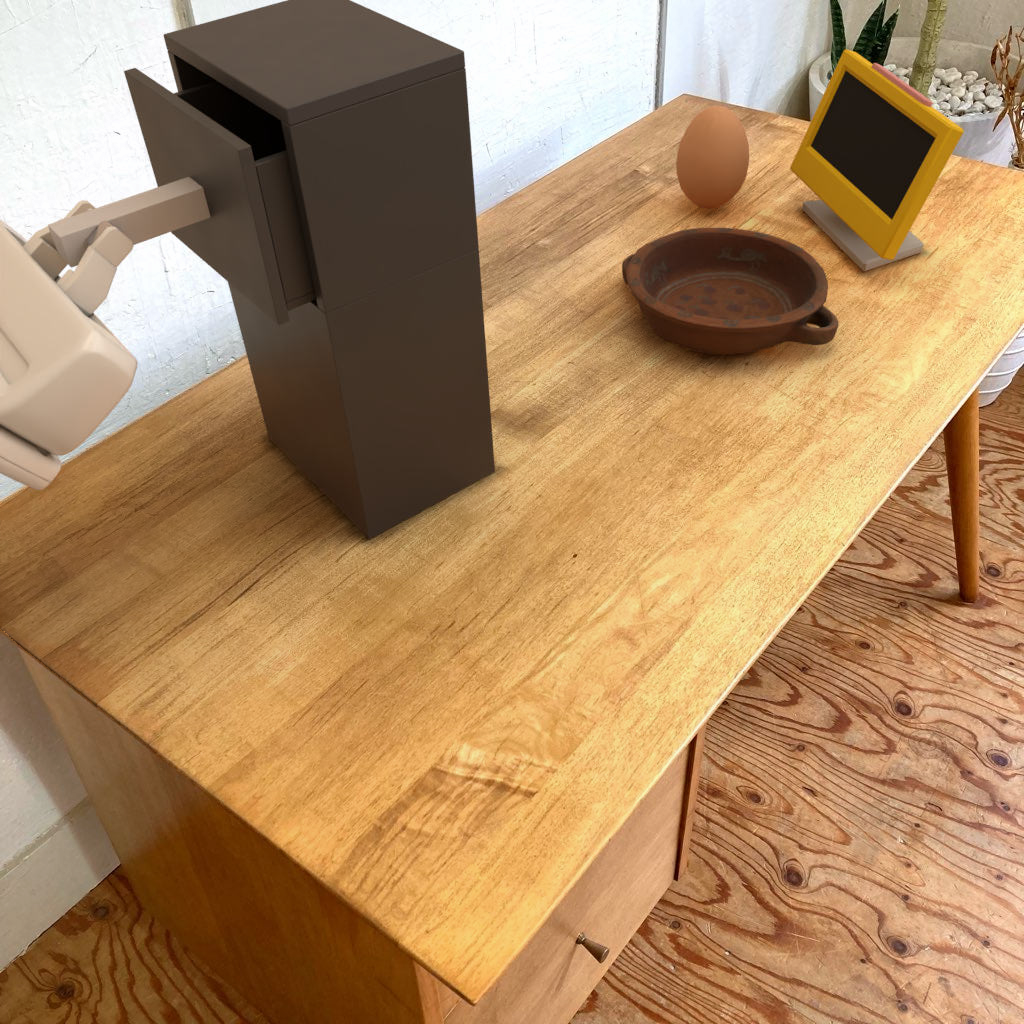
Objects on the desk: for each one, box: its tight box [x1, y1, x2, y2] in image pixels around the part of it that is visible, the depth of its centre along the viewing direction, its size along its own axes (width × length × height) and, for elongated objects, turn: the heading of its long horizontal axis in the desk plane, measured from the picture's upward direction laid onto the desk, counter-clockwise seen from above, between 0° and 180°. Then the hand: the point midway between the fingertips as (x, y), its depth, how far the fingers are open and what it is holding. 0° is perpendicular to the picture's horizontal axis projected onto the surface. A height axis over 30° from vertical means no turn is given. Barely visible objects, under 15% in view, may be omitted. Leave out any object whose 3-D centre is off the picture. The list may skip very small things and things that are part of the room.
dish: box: [621, 227, 839, 356], centre depth 97 cm, size 18×22×5 cm
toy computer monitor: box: [789, 48, 964, 272], centre depth 104 cm, size 20×8×16 cm, turn 14°
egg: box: [675, 105, 750, 210], centre depth 111 cm, size 8×8×11 cm
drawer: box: [47, 67, 316, 325], centre depth 66 cm, size 21×16×11 cm
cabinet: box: [163, 0, 496, 540], centre depth 75 cm, size 12×16×33 cm
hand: (109, 220), depth 62 cm, fingers closed on drawer, 2 cm apart
